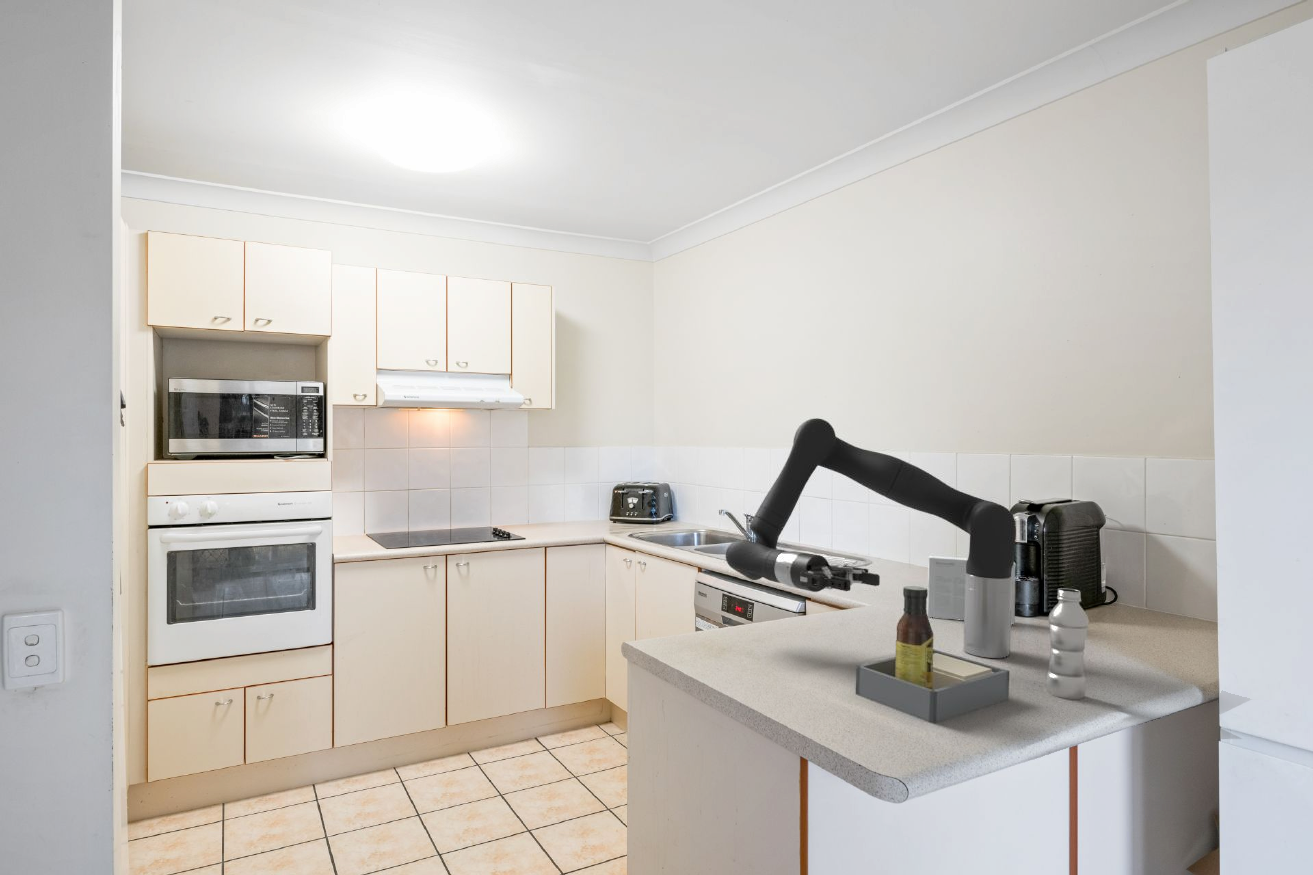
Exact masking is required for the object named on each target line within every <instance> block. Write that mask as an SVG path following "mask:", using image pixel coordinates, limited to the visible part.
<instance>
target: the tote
mask: <svg viewBox="0 0 1313 875" xmlns="http://www.w3.org/2000/svg"><path fill="white" fill-rule="evenodd" d="M934 653H938V654H942V655H945V656H949V657H952V658H955V659H959V660H962V661H966V662H969V663H973V664H976V665H979V666H983V667H986V668H990V669H992V672H994V673H992V674H988V675H985V676H981V677H978V678H974V679H971V680H967V681H964V682H960V683H957V684H953V685H950V686H946V687H943V688H939V689H935V690H931V689H928V688H925V687H922V686H919V685H916V684H913V683H910V682H907V681H904V680H901V679H898V678H895V661H896V656H894V657H889V658H885V659H881V660H877V661H872V662H867V663H864V664H859V665H856V666H855V667H856V668H855V669H856V670H855V671H856V672H855V695H857V696H860V697H862V698H865V699H867V700H870V701H873V702H875V703H878V704H881V705H883V706H886V707H889V708H891V709H893V710H896V711H898V712H902V713H904V714H907V715H909V716H911V717H914V718H917V719H920V720H922V721H925V722H928V723H931V724H933V725H934V724H936V723H940V722H943V721H946V720H949V719H951V718H955V717H958V716H961V715H964V714H967V713H970V712H973V711H977V710H979V709H982V708H986V707H989V706H992V705H995V704H998V703H1001V702H1003V701H1007V700H1009V696H1010V695H1009V694H1010V691H1009V690H1010V670H1007V669H1004V668H1000V667H996V666H993V665H990V664H987V663H982V662H979V661H976V660H973V659H969V658H965V657H962V656H958V655H956V654H955V655H954V654H951V653H948V652H945V651H940V650H937V649H934V648H933V654H934Z"/></svg>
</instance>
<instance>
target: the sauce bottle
mask: <svg viewBox="0 0 1313 875" xmlns="http://www.w3.org/2000/svg"><path fill="white" fill-rule="evenodd" d="M902 590H903V591H902V592H903V594H902V595H903V597H904V600H903V603H904V604H903V615H902V616H901V618H900V619H899V620H898V622H897V625H896V640H895V657H896V661H895V678H898V679H901V680H904V681H907V682H910V683H913V684H916V685H919V686H922V687H925V688H928V689H931V690H932V683H933V649H934V631H933V629H932V626H931V623H930V618H928V609H927V604H928V600H927V599H928V587H923V586H918V585H907V586H906V585H905V586H904V587H903V589H902Z"/></svg>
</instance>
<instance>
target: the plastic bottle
mask: <svg viewBox="0 0 1313 875" xmlns="http://www.w3.org/2000/svg"><path fill="white" fill-rule="evenodd" d="M1056 599H1057V600H1058V603H1056V604H1055V606H1054V607H1053V608H1052V609H1051V610H1050V612H1049V615H1048V628H1049V636H1050V656H1049V663H1048V670H1047V672H1046V677H1045V688H1046V692H1047V693H1048V694H1049V695H1052V696H1053V697H1057V698H1060V699H1066V700H1081V699H1083V698H1084V697H1085V696H1086V693H1087V681H1086V676H1085V661H1084V660H1085V659H1084V657H1085V648H1086V647H1085V646H1086V640H1087V634H1088V630H1089V629H1088V628H1089V623H1090V620H1089V618H1088V615H1087V613H1086V611H1085V610H1084V609H1083V608H1082V606H1081V605H1080V603H1081V602H1082V598H1081V591H1080V590H1078V589H1073V588H1061V587H1060V588H1057V596H1056Z"/></svg>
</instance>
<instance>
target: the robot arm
mask: <svg viewBox="0 0 1313 875" xmlns="http://www.w3.org/2000/svg"><path fill="white" fill-rule="evenodd" d="M792 442H793V443H792V444H793V445H792V446H791V447H792V448H791V450H790V453H789V455H788V457H787V460H786V462H785V463H784V465H783V468H782V469H781V471H780V473H779V475H778V477H776V480H775V481H774V483H773V484H772V486H771V488H770V489H769V490H768V492H767V494H766V496H764V498H763V501H762V502H761V504H760V506H759V507H758V509H757V511H756V513H755V514H754V516H753V518H752V520H751V522H750V524H749V527H750V530H751V531H752V533H753V535H755V541H752V540H749V539H738V540H735V541H734V542H732V543H730V544H729V545H728V547H727V549H726V552H725V560H726V563H727V565H728V566H729V567H730V568H732V569H733V570H734V571H735V572H736V573H739V574H741V575H743V576H744V577H745V578H748V579H749V580H751V581H758V580H760V579H762V578H764V579H766V580H768V581H770V582H774V583H779V584H782V585H786V586H788V587H791V588H795V589H800V590H802V591H803V590H804V591H808V592H812V593H818V592H821V591H822V590H824V589H825V590H827V589H828V590H838V591H839V590H840V591H844V592H850V591H851V586H852V585H853V584H861V585H863V584H864V585H868V586H873V587H879V586H880V582H881V580H880V578H881V577H880V575H879V574H877V573H872V572H869V569H868V568H863V567H856V566H850V565H845V564H844V565H843V566H839V565H837V564H830V563H829V561H828V560H827V559H826V557H824V556H822V555H819V554H813V553H808V552H802V551H797V550H785V549H780V548H779V549H777V546H778V541H779V537H780V535H781V534H782V532H783V531H784V528H785V526H787V523H788V521H789V519H790V517H791V516H792V513H793V511H794V509H795V507H796V505H797V503H798V501H799V499H800V497H801V494H802V492H803V491H804V489H805V488H806V487H805V486H806V485H807V484H808V481H809V480H810V478H811V476H812V475H813V473H814V472H815V470H816V469H817V467H818V466H819V467H822V468H825V469H827V470H830V471H833V472H834V473H835V472H836V473H838V474H841V475H843V476H845V477H846V478H848V479H850V480H852V481H854V482H856V483H857V484H860V485H861V486H863V487H864V488H867V489H868V490H871V491H873V492H875V493H876V494H878V495H881V496H882V497H885V498H887V499H888V500H891V501H893V502H894V503H898V504H900V505H902V506H905V507H907V508H910V509H912V510H914V511H915V510H916V511H919V512H923V513H924V514H925V513H926V514H928V515H933V516H934V517H935V516H936V517H938V518H940V519H942V520H945V521H947V522H948V523H950V524H952V525H953V526H955V527H956V528H958V529H961V530H962V531H964V532H966V533H967V534H969V546H968V547H969V549H968V550H969V552H968V556H967V558H968V560H967V562H966V584H965V586H966V587H965V618H964V621H963V622H964V624H963V626H964V627H963V651H964V652H965V653H968V654H970V655H972V656H976V657H983V658H992V659H1002V658H1003V657H1004V658H1007V657H1009V654H1010V653H1011V638H1012V637H1011V634H1012V625H1011V610H1010V598H1011V571H1012V567H1013V564H1014V562H1015V558H1016V557H1015V555H1016V554H1015V552H1016V541H1017V540H1016V537H1017V526H1016V520H1015V517H1014V514H1013V513H1012V512H1011V510H1009V509H1008V508H1006V507H1005V506H1004V505H1001V504H1000V503H997V502H993V501H990V500H987V499H986V500H985V499H983V498H980V497H976V496H974V495H972V494H968V493H966V492H963V491H960V490H958V489H956V488H953V487H952V486H950V485H948V484H947V483H945V482H943V481H942V480H941V479H939V478H938V477H936V476H935V475H932V474H931V473H929V472H927V471H926V470H924V469H922V468H920V467H918V466H917V465H914V464H911V463H910V462H907V461H905V460H902V459H901V458H898V457H896V456H893V455H889V454H886V453H881V452H878V451H873V450H870V449H864V448H860V447H857V446H855V445H853V444H850V443H849V442H847V441H844V439H841V438H839V437H838V436H836V432H835V429H834V427H833V426H832V425H831V423H830V422H829V421H827V420H825V419H822V418H816V417H815V418H810V419H808V420H805V421H804V422H802V423H801V424H800V425H799V426H798V428H797V429H796V431H795V434H794V437H793V441H792ZM1009 652H1010V653H1009ZM1006 656H1007V657H1006ZM1004 658H1003V659H1004Z"/></svg>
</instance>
